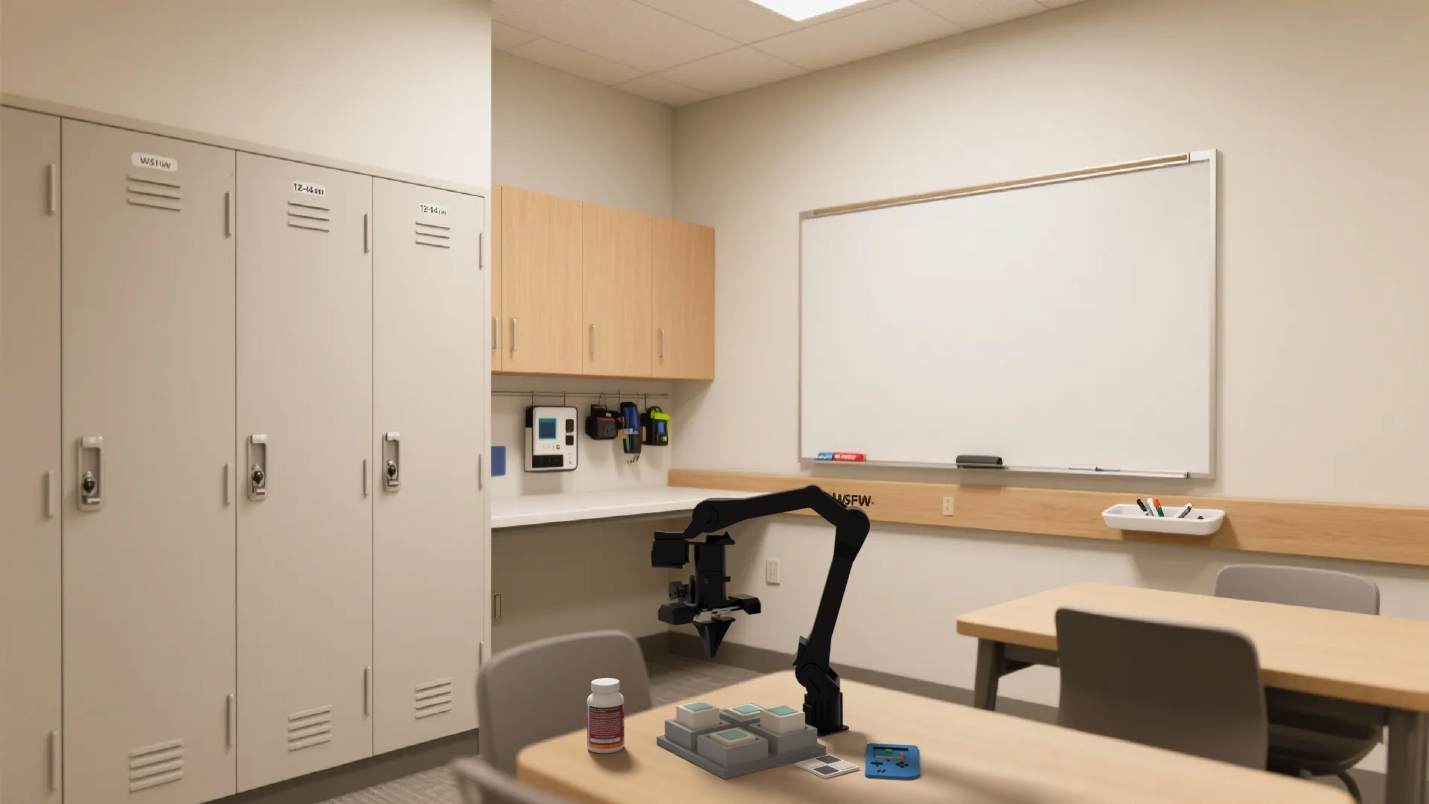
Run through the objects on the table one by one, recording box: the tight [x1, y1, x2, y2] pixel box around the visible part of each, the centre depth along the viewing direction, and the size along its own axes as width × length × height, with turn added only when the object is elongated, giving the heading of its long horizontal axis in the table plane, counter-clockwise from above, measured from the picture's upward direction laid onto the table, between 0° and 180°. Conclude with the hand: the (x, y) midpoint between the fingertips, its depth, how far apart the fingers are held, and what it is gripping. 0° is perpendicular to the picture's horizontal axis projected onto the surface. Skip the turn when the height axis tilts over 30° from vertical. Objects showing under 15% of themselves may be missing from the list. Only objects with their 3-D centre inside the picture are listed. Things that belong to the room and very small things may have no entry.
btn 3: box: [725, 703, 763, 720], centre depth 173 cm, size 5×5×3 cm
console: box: [656, 702, 827, 780], centre depth 166 cm, size 20×20×4 cm
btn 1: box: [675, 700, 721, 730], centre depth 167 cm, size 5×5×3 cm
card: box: [795, 754, 860, 780], centre depth 157 cm, size 7×7×1 cm
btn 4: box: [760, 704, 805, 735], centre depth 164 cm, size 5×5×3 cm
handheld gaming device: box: [864, 742, 921, 781], centre depth 159 cm, size 8×1×15 cm
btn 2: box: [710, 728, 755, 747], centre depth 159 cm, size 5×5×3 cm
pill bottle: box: [586, 677, 625, 754], centre depth 166 cm, size 6×6×11 cm
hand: (710, 657), depth 178 cm, fingers closed
